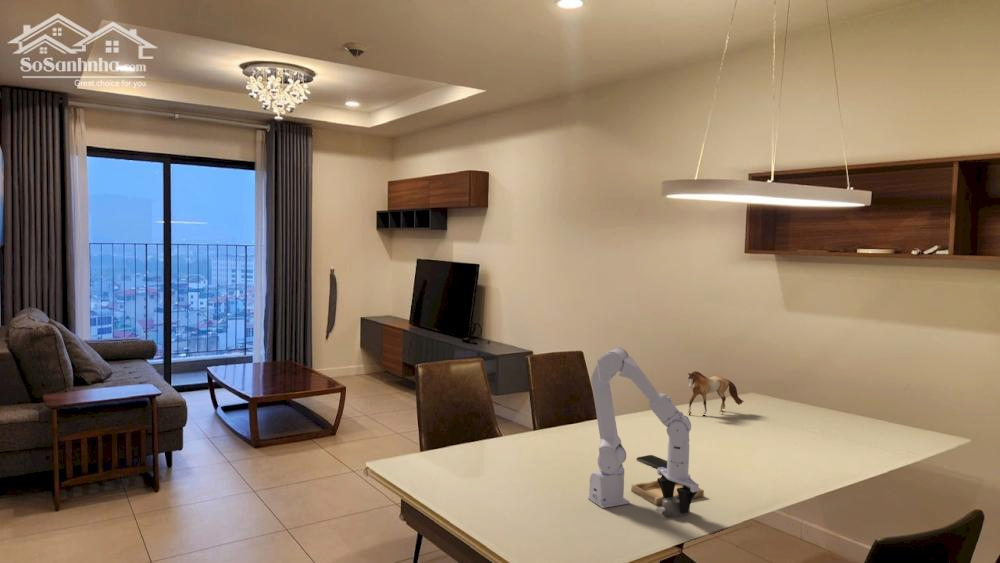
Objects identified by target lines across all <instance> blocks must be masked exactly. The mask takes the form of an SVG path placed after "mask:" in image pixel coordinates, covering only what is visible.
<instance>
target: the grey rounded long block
mask: <svg viewBox="0 0 1000 563" xmlns="http://www.w3.org/2000/svg"><path fill="white" fill-rule="evenodd" d="M655 511H658V512H659V513H660V512H661V515H662V516H663V517H666V518H669V519H670V518H671V519H672V518H677V517H678V518H679V517H682V516H687V515H690V511H691V506H690V507H689V510H688V513H684V514H681V513H680V501H679V496H675V497H669V498H664V499H663V502H662V505H661V506H659V507H658V506H657V507H656V510H655Z"/></svg>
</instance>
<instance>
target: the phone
mask: <svg viewBox="0 0 1000 563" xmlns="http://www.w3.org/2000/svg"><path fill="white" fill-rule="evenodd" d="M636 461H637V462H639V463H641V464H643V465H646V466H648V467H650V466H651V468H652V469H655V470H657V469H658V468H660V467H664V468H667V460H666V459H664V458H661V457H658V456H656V455H653V454H648V455H644V456H638V457H636Z"/></svg>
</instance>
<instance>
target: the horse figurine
mask: <svg viewBox="0 0 1000 563" xmlns="http://www.w3.org/2000/svg"><path fill="white" fill-rule="evenodd" d="M687 374H688V377H687V378H688V381H689V383H688V384H689V385H688V387H689V389H691V390H692V393H691V396H690V399H689V403H688V404H689V405H688V409H687V411H688V412H687V414H688V413H689V414H691V415H692V411H691V409H692V408H691V407H692V404H693V402H694V400H695V399H696V398H697V396H699V395H701V396H702V400H703V406H704V411H703V413H702V414H706V415H707V411H708V409H707V394H713V393H717V395H718V396H719V397H720V398H721V405H720V410H719V413H720V412H723V413H724V411H723V410H722V409H726V403H725V402H726V395H725V392H726V391H727V389H728V393H729V394H730V397H731V398H732V399H733V400H734V402H735V403H736V404H737V405H738V406H741V405H742V404H743V403H744V402H745V401H744V400H743V399H742V398H740V397H739V396H738V389H737V387H736V385H735V384H734V383H733V382H732V381H731V380H729V379H727V378H725V377H722V376H720V375H714V376H711V377H706V376H705V375H703V374H702V373H701V372H699V371H697V370H696V371H693V372H691V373H689V372H688V373H687Z"/></svg>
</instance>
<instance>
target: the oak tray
mask: <svg viewBox="0 0 1000 563" xmlns="http://www.w3.org/2000/svg"><path fill="white" fill-rule="evenodd" d="M677 488H683V486H682V485H680V484H678V483H676V484H675V488H674V493H673V497H675V496H679V495H678V492H677ZM704 491H705V490H704V489H701V488H700V487H698V491H697V493H696V494H695V496H694V497H693V499H692V500H695V499H701V498H704V494H705V493H704ZM631 492H632V493H634V494H635V495H637V496H638V497H640V498H642V499H643V500H646V501H648V502H649V503H651V504H652V505H654V506H657V507H658V506H662V502H663V499H664V498H663V493H662V490H661V487H660V485H659V483H658V481H657V480H654V481H647V482H640V483H635V484H631Z"/></svg>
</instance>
